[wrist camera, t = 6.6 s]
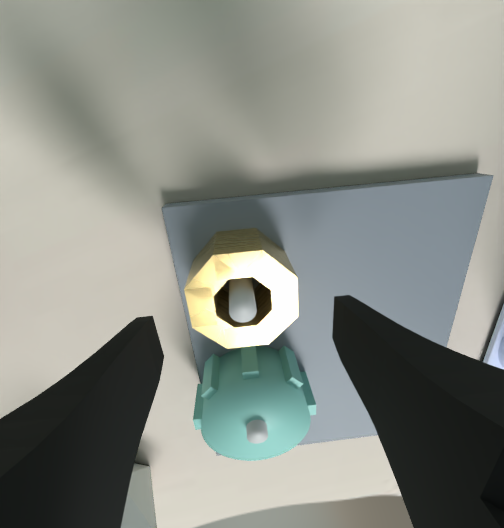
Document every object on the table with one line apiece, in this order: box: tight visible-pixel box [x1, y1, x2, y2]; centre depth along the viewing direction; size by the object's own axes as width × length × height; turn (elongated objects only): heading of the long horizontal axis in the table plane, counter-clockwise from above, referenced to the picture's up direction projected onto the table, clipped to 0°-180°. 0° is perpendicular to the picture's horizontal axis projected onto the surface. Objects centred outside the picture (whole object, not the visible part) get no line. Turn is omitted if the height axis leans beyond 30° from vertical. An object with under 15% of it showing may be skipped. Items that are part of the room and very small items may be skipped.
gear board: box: [162, 173, 493, 461], centre depth 17 cm, size 17×20×5 cm
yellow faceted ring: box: [184, 228, 298, 349], centre depth 14 cm, size 5×5×3 cm
